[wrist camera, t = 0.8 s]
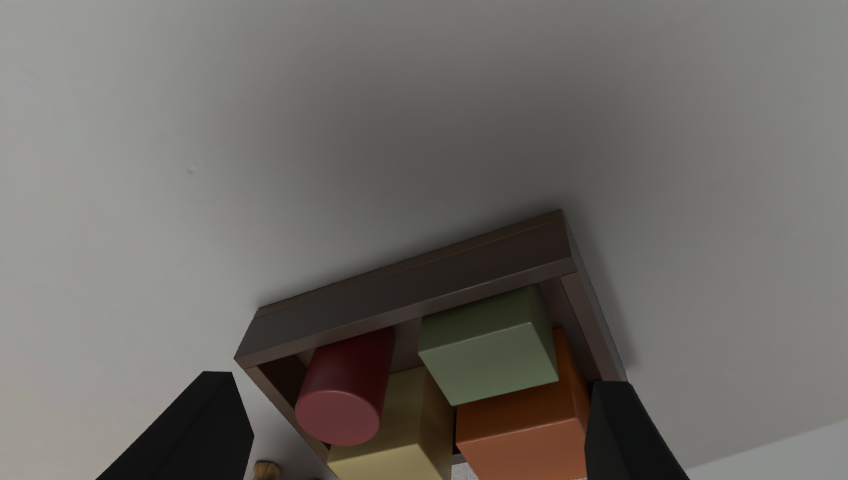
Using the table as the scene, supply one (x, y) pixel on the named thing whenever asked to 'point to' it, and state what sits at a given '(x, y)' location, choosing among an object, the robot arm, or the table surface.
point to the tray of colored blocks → (444, 361)
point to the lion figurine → (266, 471)
